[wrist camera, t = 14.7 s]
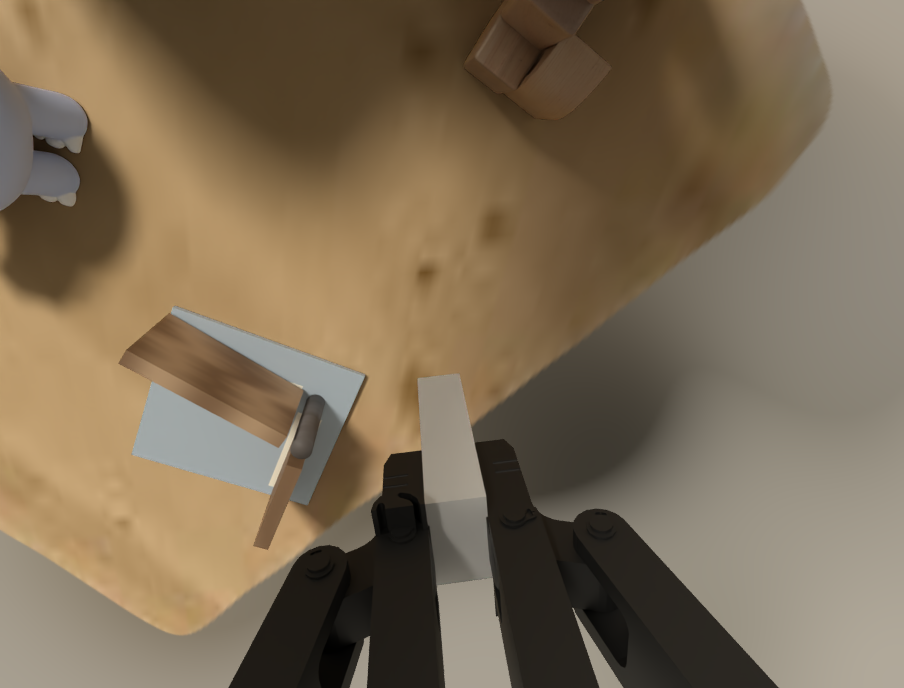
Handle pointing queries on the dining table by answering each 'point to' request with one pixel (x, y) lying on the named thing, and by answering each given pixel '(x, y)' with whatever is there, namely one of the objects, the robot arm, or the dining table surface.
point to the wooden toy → (538, 56)
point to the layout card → (228, 446)
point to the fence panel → (215, 378)
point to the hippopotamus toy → (45, 116)
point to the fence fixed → (291, 469)
